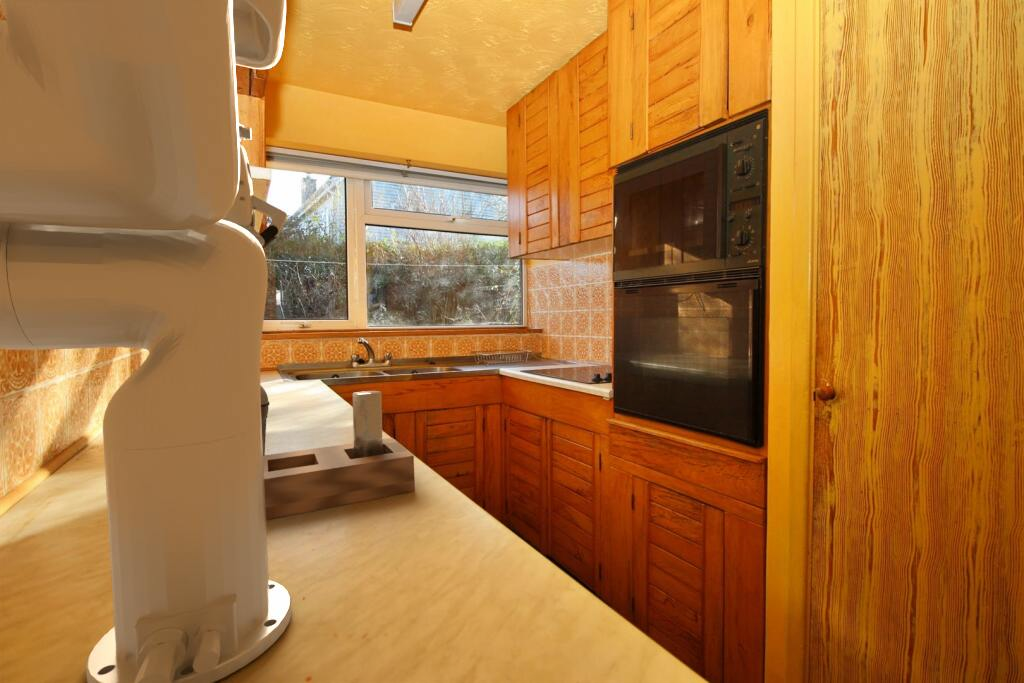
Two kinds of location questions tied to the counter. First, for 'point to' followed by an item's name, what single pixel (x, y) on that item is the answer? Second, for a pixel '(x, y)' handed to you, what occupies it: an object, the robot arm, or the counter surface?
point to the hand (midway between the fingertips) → (206, 281)
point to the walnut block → (334, 477)
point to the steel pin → (367, 424)
